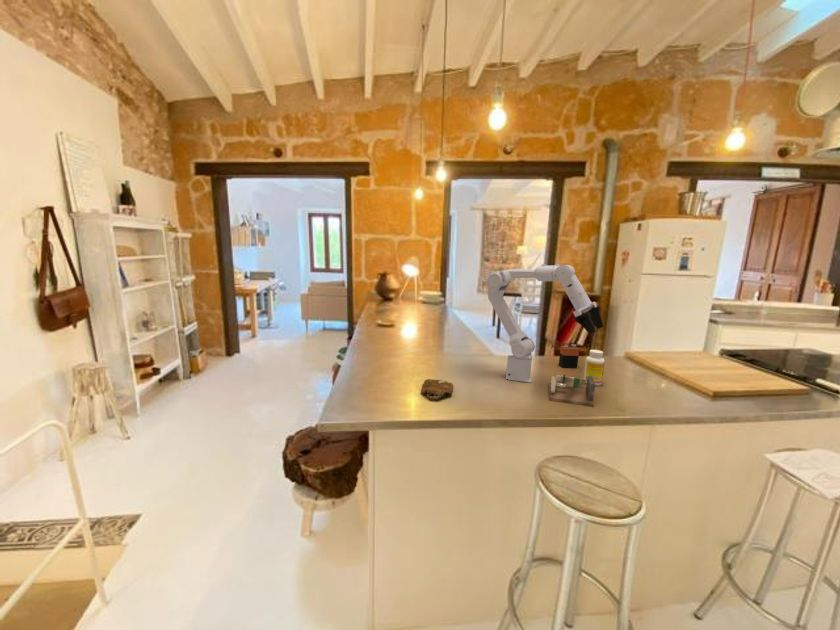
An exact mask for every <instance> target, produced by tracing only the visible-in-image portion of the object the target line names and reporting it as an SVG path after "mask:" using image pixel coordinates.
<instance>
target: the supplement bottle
mask: <svg viewBox="0 0 840 630" xmlns="http://www.w3.org/2000/svg"><path fill="white" fill-rule="evenodd" d="M603 356H604V351H602V350H599V349H590V350H589V356H587V357H585V365H584V374H583V379H586V383H585V384H587V377H588V376H592V377H593V380H594V382H595V386H601V385H602V384H603V381H604V379H603V378H604V372H605V371H604V370H605V362H606V361H605V359H604V357H603Z"/></svg>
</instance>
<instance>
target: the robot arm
mask: <svg viewBox="0 0 840 630" xmlns="http://www.w3.org/2000/svg"><path fill="white" fill-rule="evenodd" d="M531 278H532V279H533V278H534V279H535V280H536V281H538V282H557V281H558V282H559V283H560V284H561V285H562V288H563V289H564V292H565V293H566V295H567V298H568V299H569V301H570V302H571V304H572V306H573V308H574V309H575V310H574V311H572V313H573V316H575V317H574V318H573V321H575V322H576V323H578V324H579V325H580V326H581V327H582V328H583V329H584V330H585V331H586V332H587V333H588V335H592V334H594V333H596V329H597V330H598V329H602V328H604V323H603V318H602V313H601V309H602V308H601V306H600V305H598V306H597V305H596V301H593V302H592V301H591V299H590V297H589V296H588V294H587V292H586V290H585V289H584V286H583V285H582V284H581V281H580V280H579V278H578V277H577V275H576V269H575V268H574V266H572V265H569V264H564V265H560V264H559V263H556V264H555V265H552V264H551V265H547V263H541V265H538V266H537V267H536V268H535V269H533V268H532V269H529V268H527V269H526V268H523V269H521V268H513V269H511V268H510V269H506V270H505V269H504V270H499V271H492V272H491V273H489V274H488V276H487V278H486V281H485V284H486V286H487V288H486V289H487V298H488V301H489V302H490V304H491V306H492V308H493V309H494V312H495V313H496V315H497V317H498V319H499V321H500V323H501V324H502V326H503V328H504V329H505V331H506V333H507V335H508V337H509V340H508V343H509V345H510V348H511V353H512V355H511V354H509V355H507V361H506V368H505V380H507V379H508V380H507V381H514V382H515V381H516V382H521V383H522V382H523V383H532V375H531V373H532V363H533V362H532V361H533V355H532V353H534V351H535V349H536V345H535V342H534V340H533V339H531V338H530V337H529V336H528V334H527V333H526V332H524V331H523V330H522V329H521V327H520V325H519V323H518V322H517V320H516V317H515V316H514V314H513V313H512V310H511V309H510V307H509V305H508V304H507V301H506V300H505V298H504V293H505V290H506V289H507V288H508V286H509V285H510V284H511V282H512V281H513V282H514V280H516V279H531ZM595 327H596V328H595Z"/></svg>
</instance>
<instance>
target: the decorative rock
mask: <svg viewBox="0 0 840 630" xmlns="http://www.w3.org/2000/svg"><path fill="white" fill-rule="evenodd" d="M421 393H423V394H426V397H427V398H429V400H432V401H438V400H441V398H442V397H444V396H446V395H447V394H450V393H452V394H453V393H454V383H452V382H449V381H446V380H442V379H432V378H429V379H428V378H427V379H425V380H424V381H423V383H422V385H421Z"/></svg>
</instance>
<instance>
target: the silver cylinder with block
mask: <svg viewBox="0 0 840 630" xmlns="http://www.w3.org/2000/svg"><path fill="white" fill-rule="evenodd" d="M562 376H563V384H562V383H556V376H554V375H551V380H550V383H551V393H555V387H558V388H565V389H568V384H565V376H566V374H563V375H562Z"/></svg>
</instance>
